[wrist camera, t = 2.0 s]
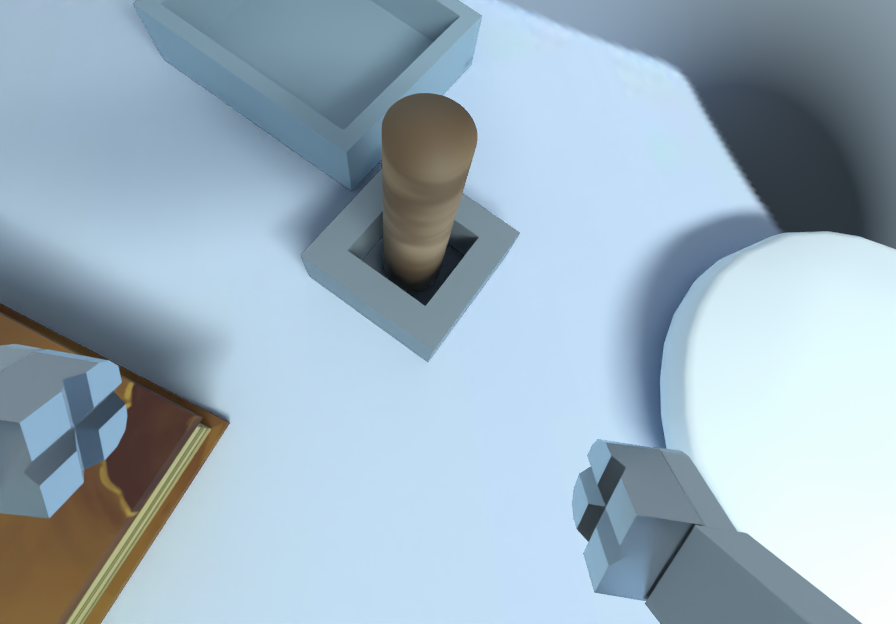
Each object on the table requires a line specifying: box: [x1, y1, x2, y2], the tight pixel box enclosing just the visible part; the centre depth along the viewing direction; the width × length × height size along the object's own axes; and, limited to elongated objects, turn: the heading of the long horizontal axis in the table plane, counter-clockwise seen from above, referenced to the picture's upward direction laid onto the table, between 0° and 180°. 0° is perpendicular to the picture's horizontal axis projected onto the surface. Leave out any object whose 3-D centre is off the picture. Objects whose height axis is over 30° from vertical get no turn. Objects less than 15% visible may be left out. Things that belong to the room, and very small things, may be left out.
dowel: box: [381, 93, 477, 292], centre depth 25 cm, size 4×4×14 cm
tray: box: [133, 0, 482, 191], centre depth 34 cm, size 18×16×4 cm
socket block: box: [301, 169, 520, 362], centre depth 30 cm, size 10×10×4 cm
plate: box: [660, 231, 896, 624], centre depth 30 cm, size 28×6×27 cm
